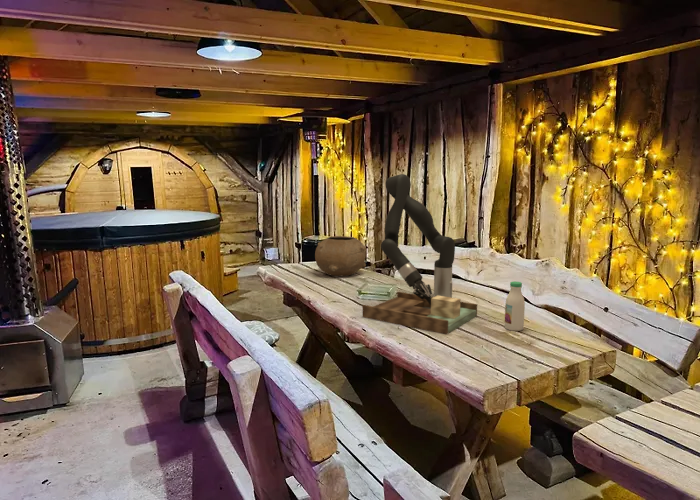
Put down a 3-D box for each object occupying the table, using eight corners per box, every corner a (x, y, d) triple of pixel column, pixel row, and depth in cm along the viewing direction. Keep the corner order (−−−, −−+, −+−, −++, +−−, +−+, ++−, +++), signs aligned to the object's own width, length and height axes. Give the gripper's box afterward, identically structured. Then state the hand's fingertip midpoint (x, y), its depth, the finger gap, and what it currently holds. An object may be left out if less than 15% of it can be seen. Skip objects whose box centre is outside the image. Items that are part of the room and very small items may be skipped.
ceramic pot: (308, 272, 323) (307, 236, 319) (352, 268, 337) (352, 233, 333) (326, 281, 293) (326, 241, 289) (374, 276, 307) (374, 238, 303)
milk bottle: (523, 326, 203) (525, 281, 200) (523, 332, 195) (526, 284, 192) (504, 324, 205) (506, 279, 202) (504, 330, 198) (506, 283, 195)
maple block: (430, 314, 210) (431, 298, 209) (437, 311, 216) (437, 295, 215) (453, 318, 204) (454, 302, 203) (459, 315, 209) (460, 298, 208)
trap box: (362, 316, 218) (362, 305, 217) (398, 302, 244) (398, 291, 243) (446, 334, 193) (447, 321, 192) (476, 315, 219) (477, 304, 218)
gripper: (408, 271, 211) (432, 302, 206) (422, 267, 222) (445, 296, 216) (397, 281, 215) (421, 312, 210) (412, 277, 226) (434, 306, 220)
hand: (433, 304), depth 213 cm, fingers closed
